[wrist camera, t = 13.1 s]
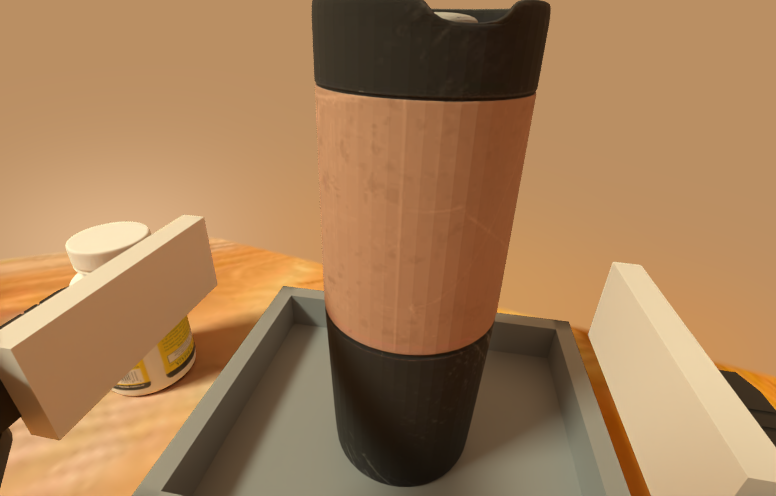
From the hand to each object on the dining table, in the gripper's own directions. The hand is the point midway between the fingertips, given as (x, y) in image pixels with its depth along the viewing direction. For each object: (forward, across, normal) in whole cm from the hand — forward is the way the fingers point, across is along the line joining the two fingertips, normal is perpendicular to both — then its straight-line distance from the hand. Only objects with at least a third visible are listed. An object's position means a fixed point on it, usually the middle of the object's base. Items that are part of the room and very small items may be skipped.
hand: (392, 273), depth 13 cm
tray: (+4, 0, -13) cm, 14 cm away
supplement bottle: (+6, -17, -13) cm, 22 cm away
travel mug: (+4, 0, -12) cm, 13 cm away
